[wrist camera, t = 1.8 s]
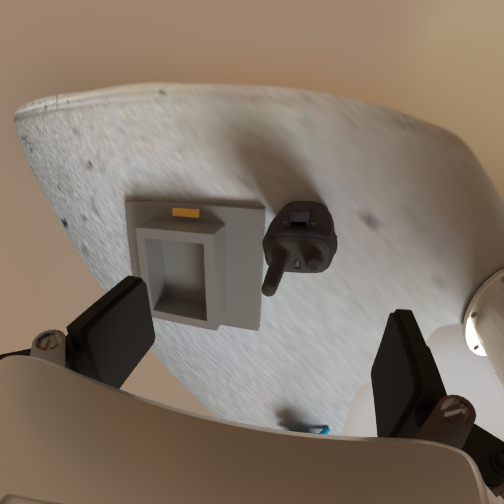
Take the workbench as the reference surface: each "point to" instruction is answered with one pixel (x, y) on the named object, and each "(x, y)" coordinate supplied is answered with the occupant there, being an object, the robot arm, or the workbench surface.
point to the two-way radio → (298, 242)
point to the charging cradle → (199, 261)
